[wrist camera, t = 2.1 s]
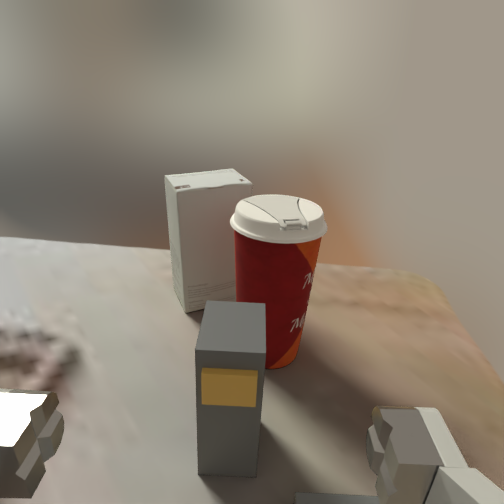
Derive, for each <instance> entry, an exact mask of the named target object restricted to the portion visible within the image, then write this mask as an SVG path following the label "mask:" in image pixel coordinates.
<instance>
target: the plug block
mask: <svg viewBox="0 0 504 504" xmlns="http://www.w3.org/2000/svg"><path fill="white" fill-rule="evenodd" d="M265 360H266V318H265V303H247V302H228V301H209V300H207V301H206V305H205V309H204V314H203V318H202V322H201V327H200V331H199V335H198V339H197V344H196V348H195V366H196V408H197V451H198V474H200V475H220V476H239V477H256V470H257V458H258V446H259V433H260V421H261V409H262V397H263V385H264V372H265Z"/></svg>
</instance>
